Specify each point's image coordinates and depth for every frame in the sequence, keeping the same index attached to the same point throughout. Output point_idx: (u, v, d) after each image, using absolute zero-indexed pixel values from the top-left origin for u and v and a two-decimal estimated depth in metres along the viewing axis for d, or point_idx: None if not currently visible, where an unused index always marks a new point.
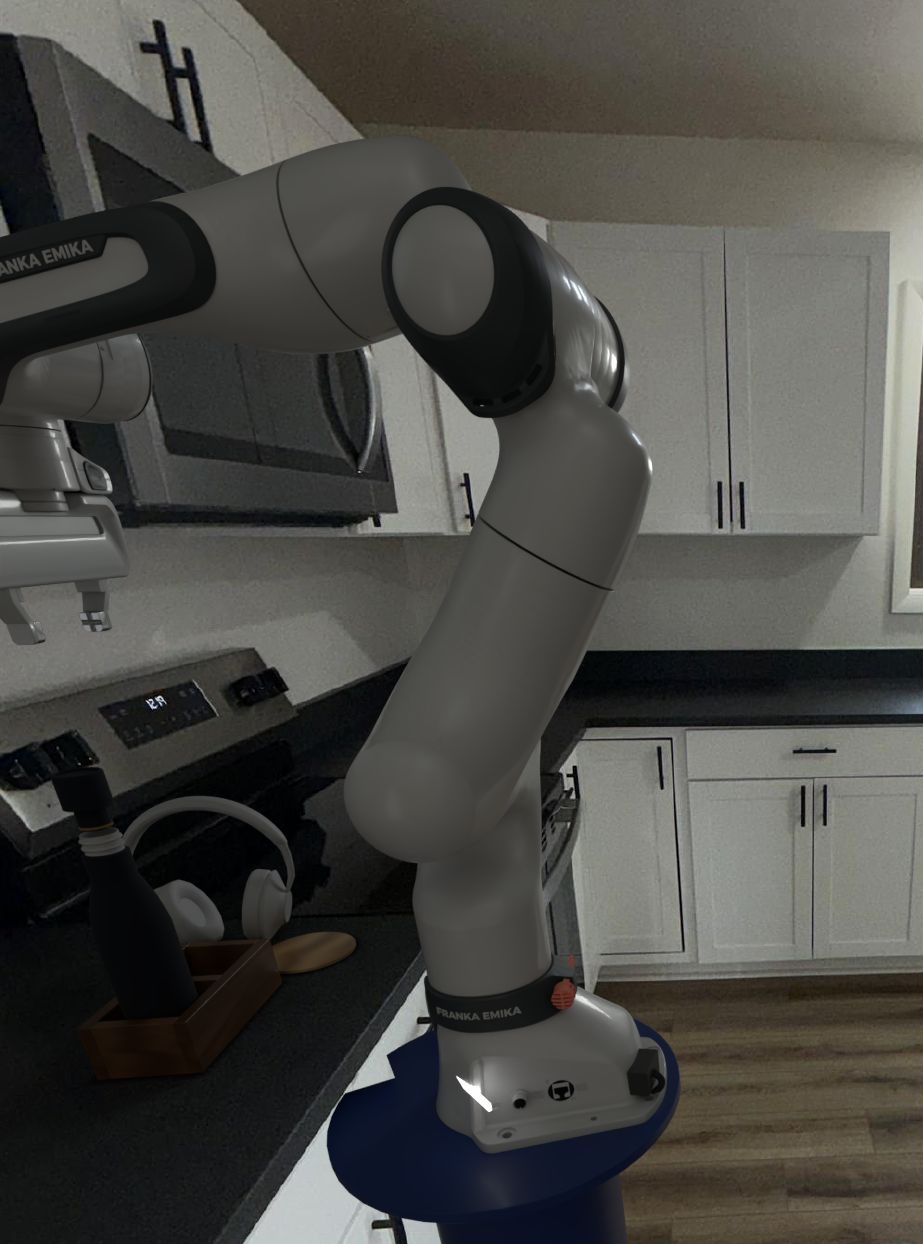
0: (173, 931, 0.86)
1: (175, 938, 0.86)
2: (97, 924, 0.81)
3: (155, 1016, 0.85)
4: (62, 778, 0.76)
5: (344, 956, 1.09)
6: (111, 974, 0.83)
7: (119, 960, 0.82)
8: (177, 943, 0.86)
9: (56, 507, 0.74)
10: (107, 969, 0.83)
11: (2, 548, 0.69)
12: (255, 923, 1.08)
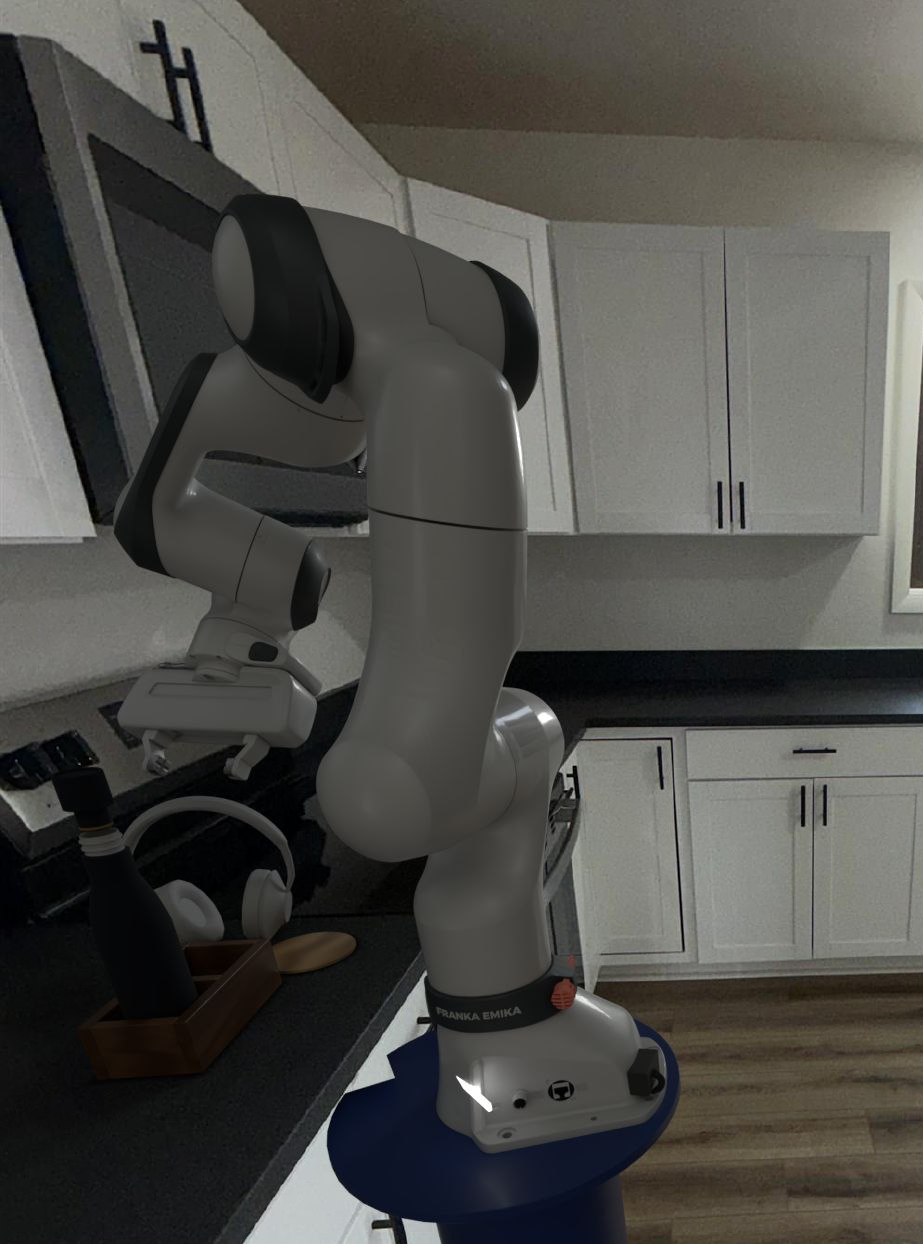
0: (173, 931, 0.86)
1: (175, 938, 0.86)
2: (97, 924, 0.81)
3: (155, 1016, 0.85)
4: (62, 778, 0.76)
5: (344, 956, 1.09)
6: (111, 974, 0.83)
7: (119, 960, 0.82)
8: (177, 943, 0.86)
9: (201, 671, 0.91)
10: (107, 969, 0.83)
11: (149, 701, 0.92)
12: (255, 923, 1.08)
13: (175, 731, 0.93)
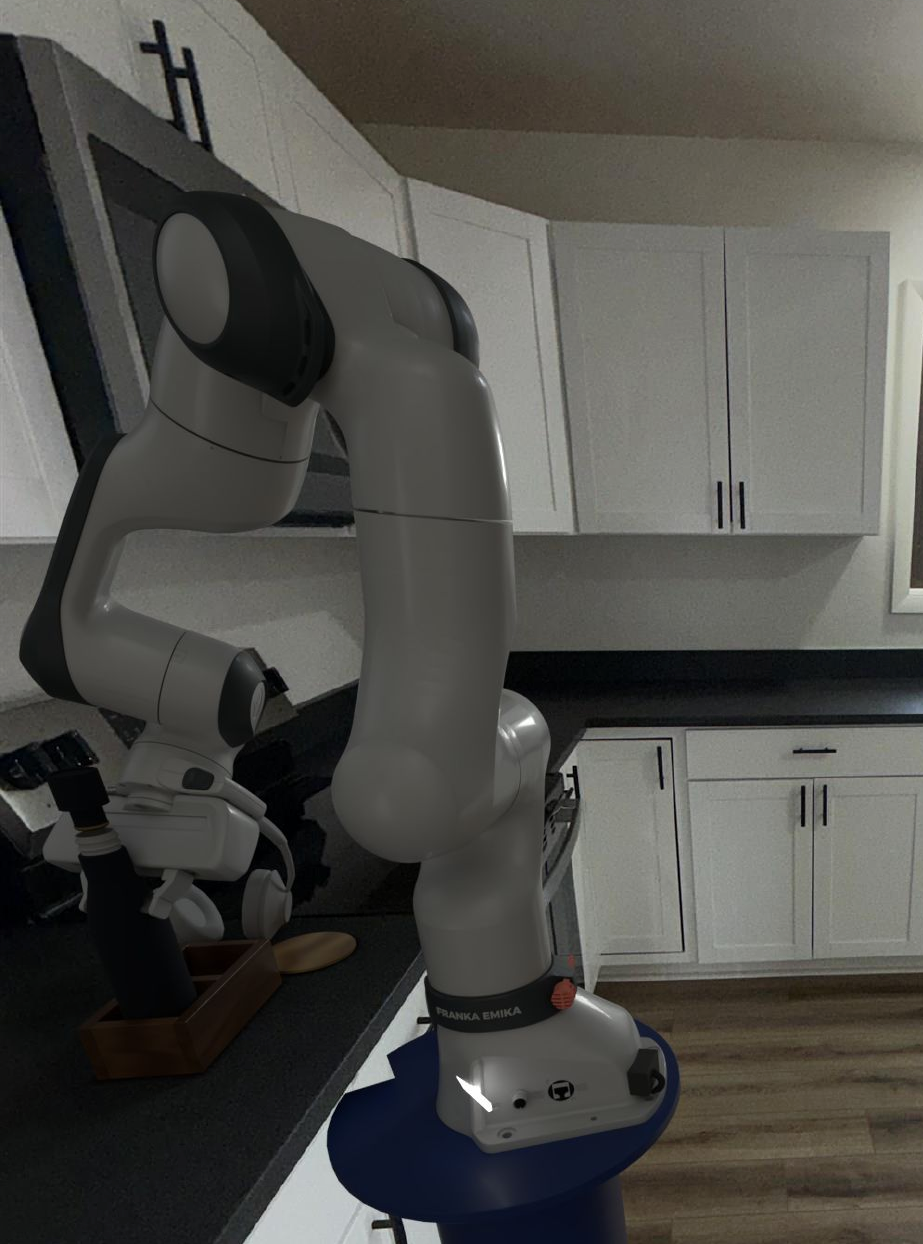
0: (171, 930, 0.86)
1: (173, 937, 0.86)
2: (95, 924, 0.81)
3: (154, 1015, 0.85)
4: (57, 777, 0.76)
5: (344, 956, 1.09)
6: (109, 974, 0.83)
7: (117, 960, 0.82)
8: (175, 942, 0.86)
9: (131, 801, 0.84)
10: (105, 969, 0.83)
11: (76, 832, 0.85)
12: (255, 923, 1.08)
13: None
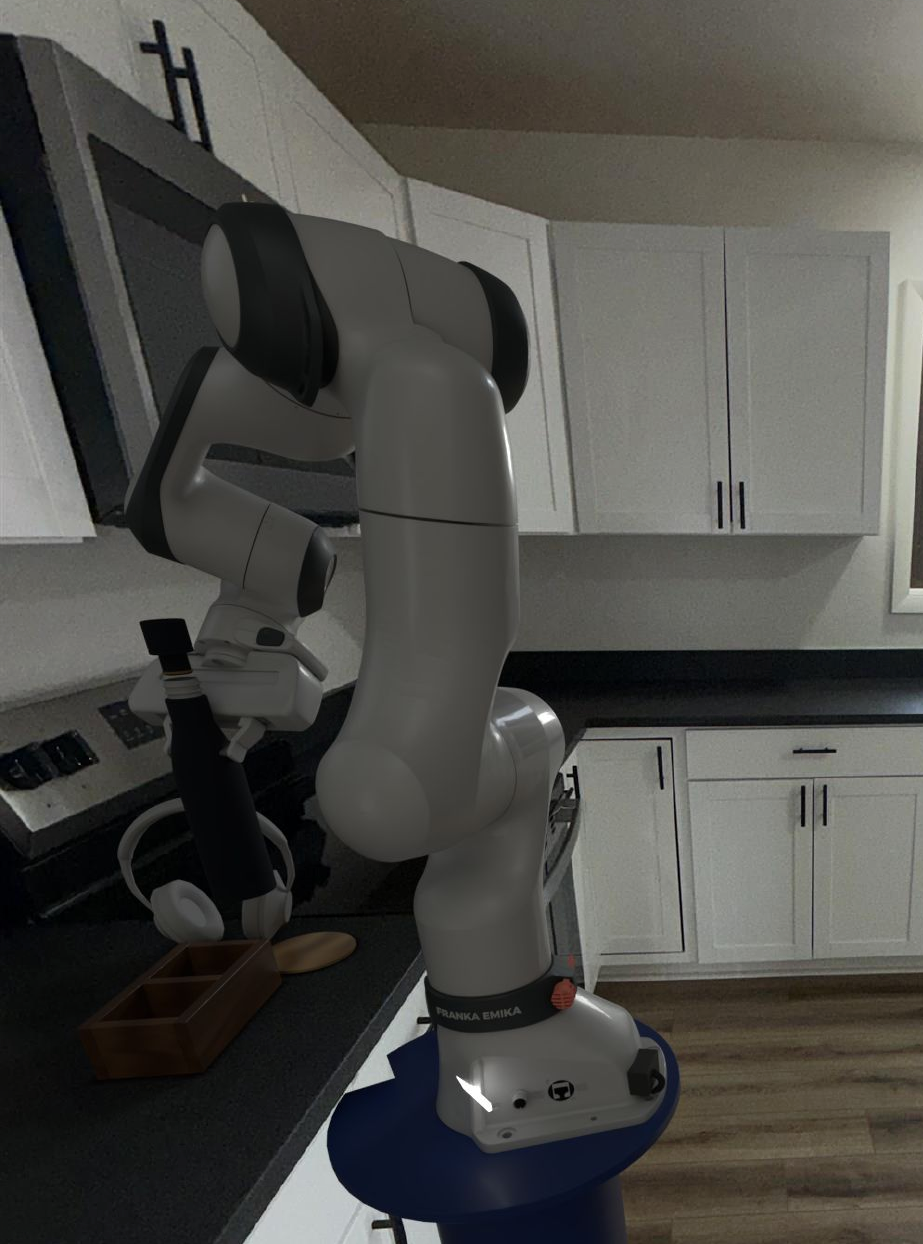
0: (244, 776, 0.94)
1: (246, 783, 0.95)
2: (179, 763, 0.90)
3: (229, 853, 0.94)
4: (151, 622, 0.85)
5: (344, 956, 1.09)
6: (190, 811, 0.92)
7: (198, 797, 0.91)
8: (247, 788, 0.95)
9: (210, 656, 0.93)
10: (186, 807, 0.92)
11: (159, 686, 0.94)
12: (255, 923, 1.08)
13: None
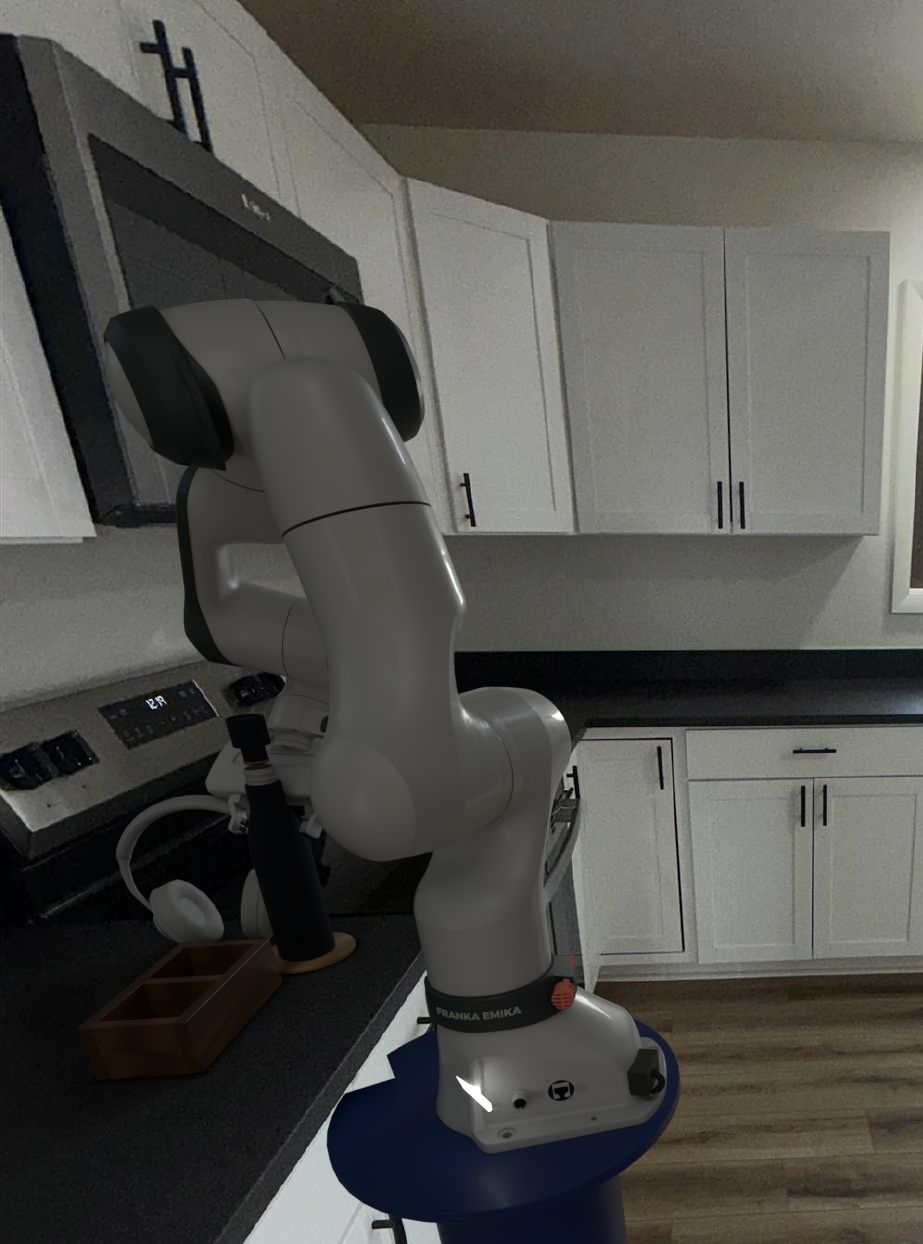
0: (310, 850, 1.05)
1: (312, 856, 1.06)
2: (255, 841, 1.01)
3: (296, 919, 1.05)
4: (236, 720, 0.96)
5: (344, 956, 1.09)
6: (264, 883, 1.03)
7: (271, 871, 1.02)
8: (313, 860, 1.06)
9: (279, 742, 1.04)
10: (260, 879, 1.03)
11: (233, 769, 1.05)
12: (254, 922, 1.08)
13: None
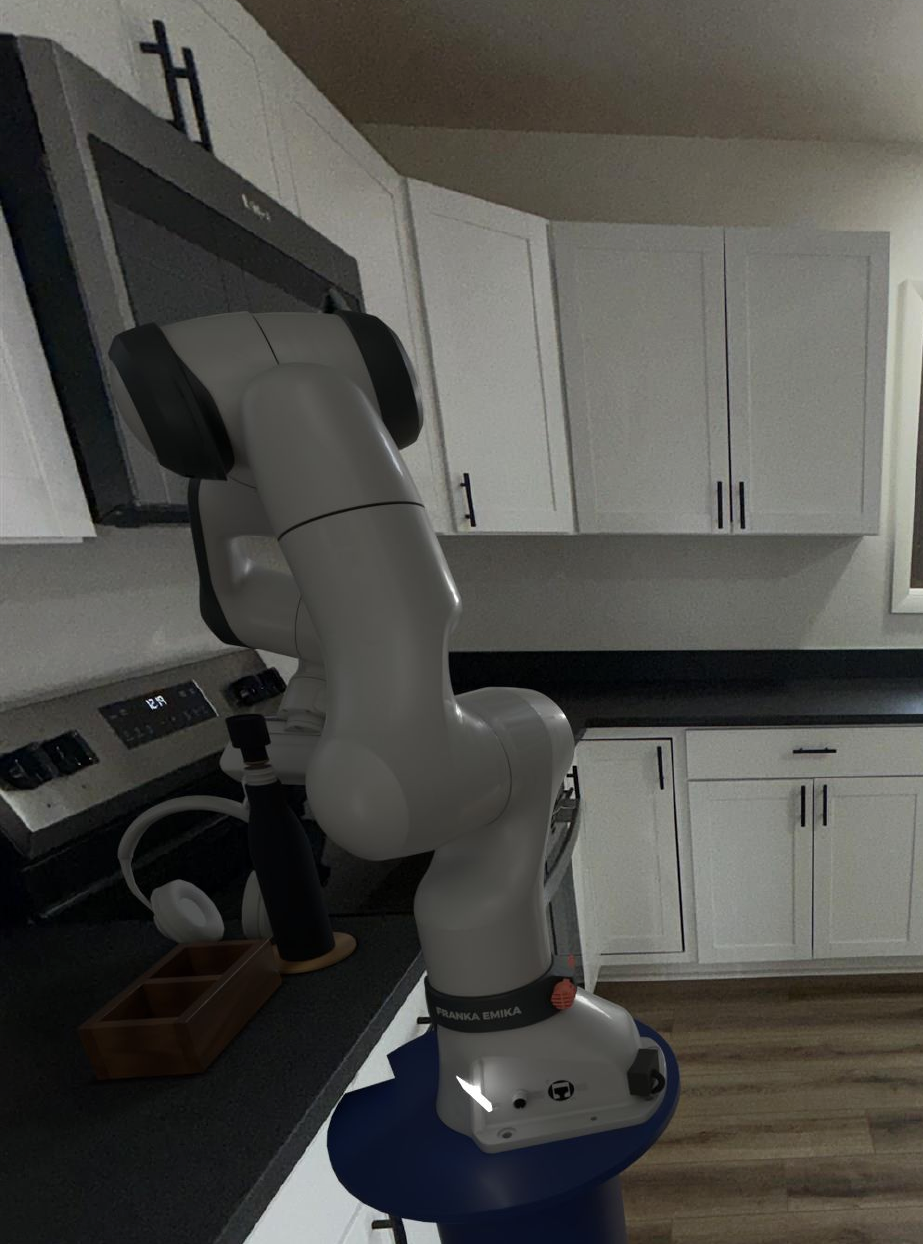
0: (310, 850, 1.05)
1: (312, 856, 1.06)
2: (255, 841, 1.01)
3: (296, 919, 1.05)
4: (236, 720, 0.96)
5: (344, 956, 1.09)
6: (264, 883, 1.03)
7: (271, 871, 1.02)
8: (313, 860, 1.06)
9: (292, 723, 1.06)
10: (260, 879, 1.03)
11: None
12: (255, 923, 1.08)
13: None
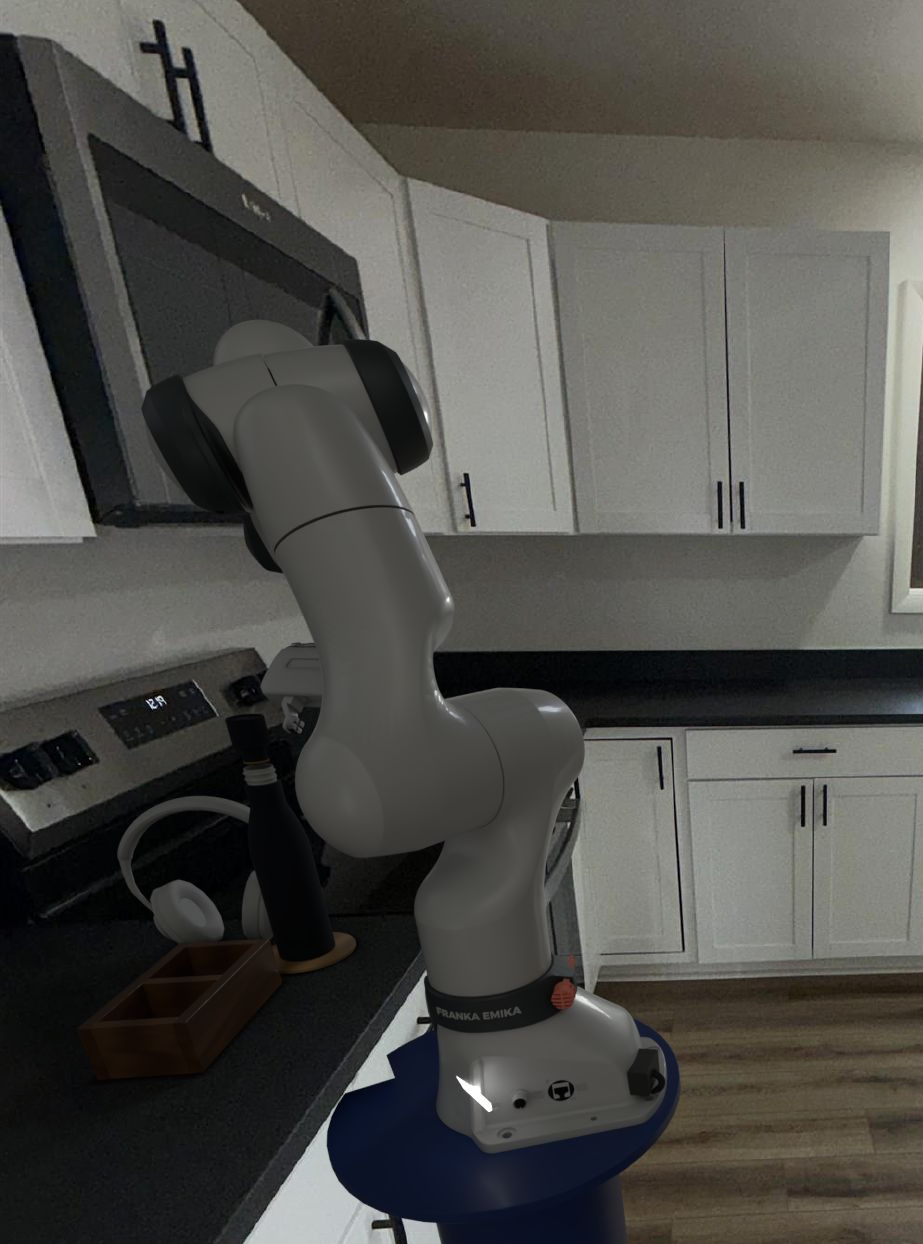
0: (310, 850, 1.05)
1: (312, 856, 1.06)
2: (255, 841, 1.01)
3: (296, 919, 1.05)
4: (236, 720, 0.96)
5: (344, 956, 1.09)
6: (264, 883, 1.03)
7: (271, 871, 1.02)
8: (313, 860, 1.06)
9: None
10: (260, 879, 1.03)
11: (286, 673, 1.12)
12: (255, 923, 1.08)
13: (307, 697, 1.13)
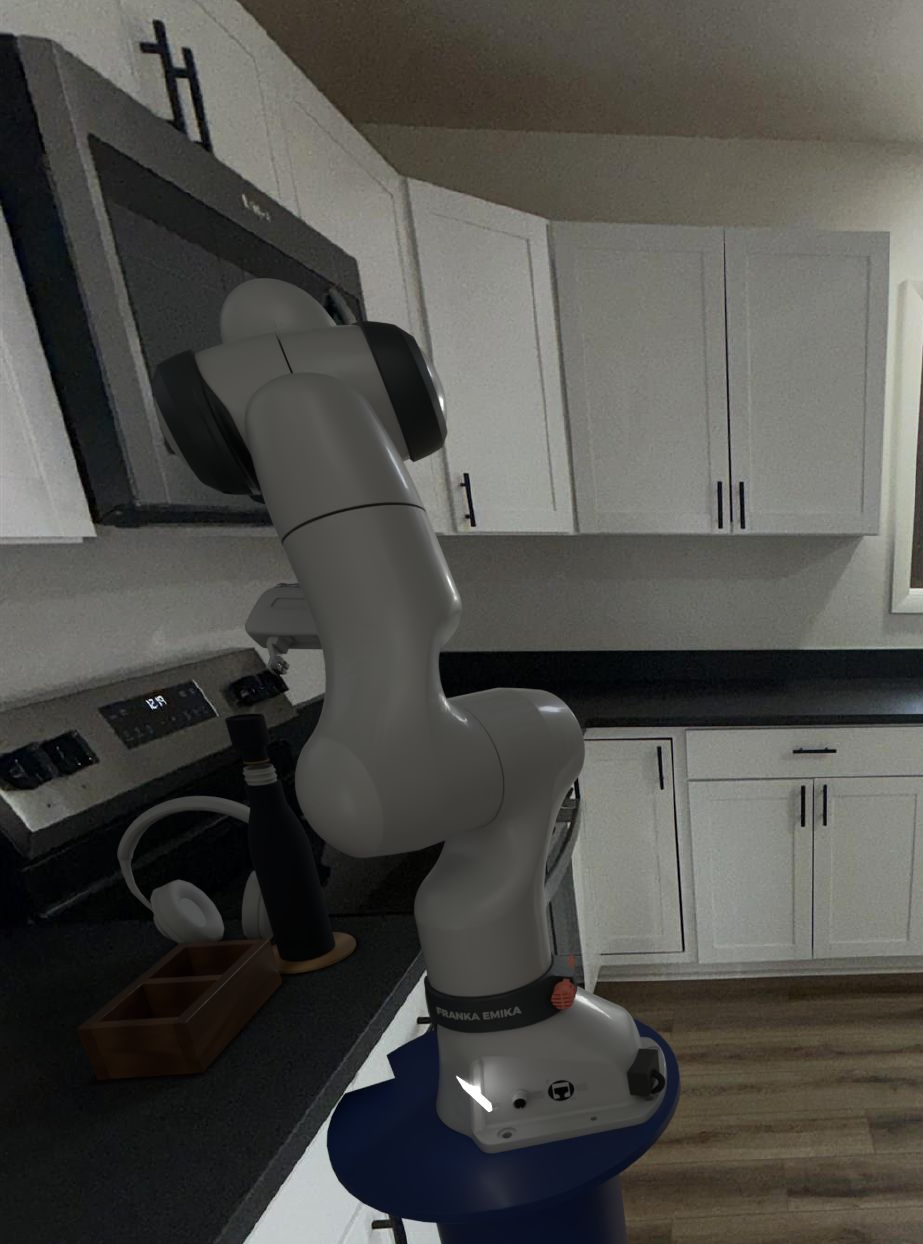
0: (310, 850, 1.05)
1: (312, 856, 1.06)
2: (255, 841, 1.01)
3: (296, 919, 1.05)
4: (236, 720, 0.96)
5: (344, 956, 1.09)
6: (264, 883, 1.03)
7: (271, 871, 1.02)
8: (313, 860, 1.06)
9: None
10: (260, 879, 1.03)
11: (271, 612, 1.09)
12: (255, 923, 1.08)
13: (292, 638, 1.10)
